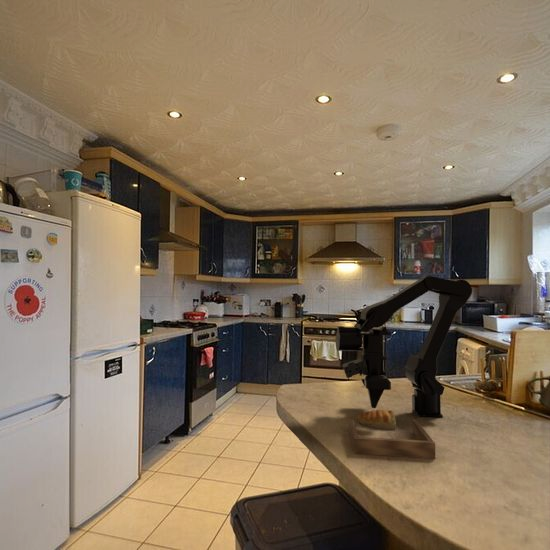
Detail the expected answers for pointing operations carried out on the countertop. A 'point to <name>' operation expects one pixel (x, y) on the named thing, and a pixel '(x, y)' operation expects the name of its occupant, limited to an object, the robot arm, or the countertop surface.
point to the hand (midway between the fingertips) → (373, 407)
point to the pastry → (378, 419)
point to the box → (394, 443)
